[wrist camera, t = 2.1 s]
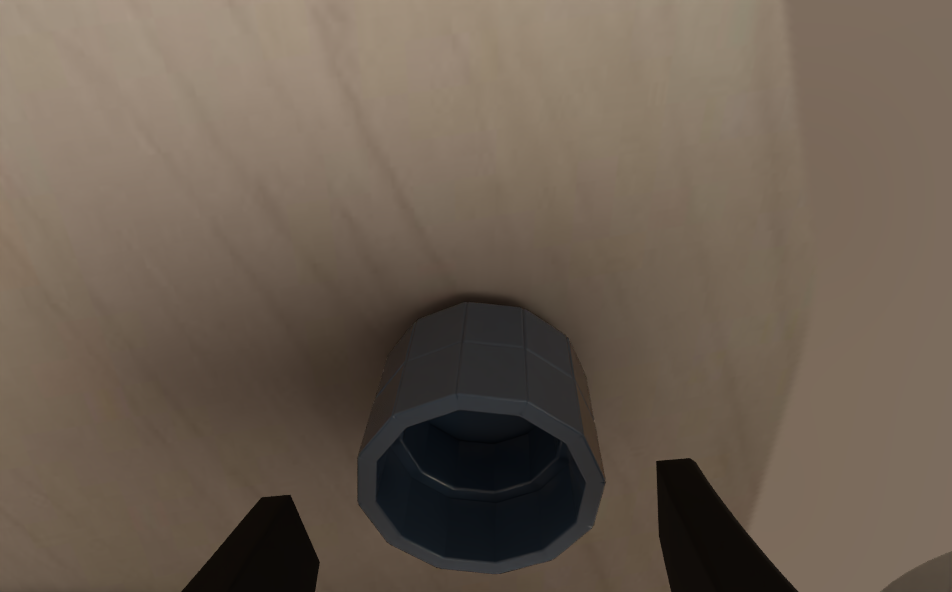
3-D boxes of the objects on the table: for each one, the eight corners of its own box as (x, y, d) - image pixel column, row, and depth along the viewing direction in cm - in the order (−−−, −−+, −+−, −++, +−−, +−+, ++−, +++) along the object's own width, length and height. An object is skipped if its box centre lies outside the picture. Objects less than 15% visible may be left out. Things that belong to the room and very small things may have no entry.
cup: (622, 360, 16) (655, 478, 12) (504, 474, 18) (503, 602, 14) (460, 254, 14) (446, 351, 11) (354, 390, 17) (313, 508, 13)
